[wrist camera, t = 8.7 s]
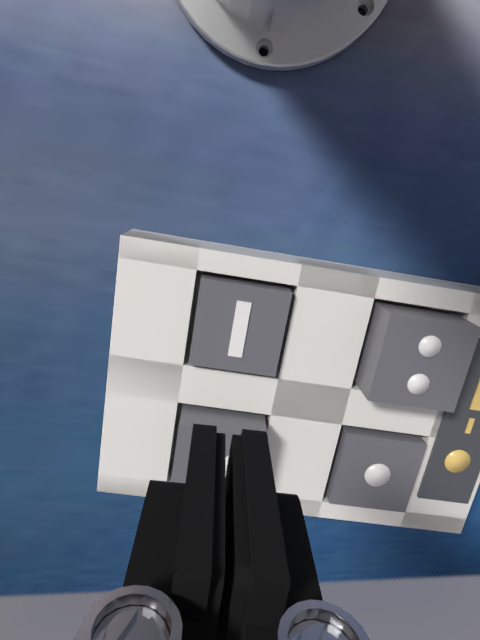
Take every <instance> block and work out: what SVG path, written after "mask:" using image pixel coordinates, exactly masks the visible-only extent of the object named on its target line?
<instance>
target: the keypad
mask: <svg viewBox="0 0 480 640" xmlns="http://www.w3.org/2000/svg"><path fill="white" fill-rule="evenodd" d="M203 271H207V272H213V273H219V274H225V275H232V276H238V277H244V278H251V279H257V280H263V281H269V282H276V283H282V284H287V285H288V286H289V288H290V289H291V291H292V292H293V293H292V298H291V303H290V308H289V313H288V318H287V323H286V327H285V332H284V337H283V342H282V347H281V352H280V357H279V361H278V366H277V371H276V376H275V377H272V376H265V375H258V374H251V373H244V372H237V371H230V370H223V369H216V368H209V367H202V366H195V365H188V363H189V356H190V349H191V342H192V335H193V328H194V322H195V315H196V308H197V301H198V294H199V287H200V280H201V275H202V272H203ZM374 300H376V301H383V302H389V303H395V304H402V305H408V306H414V307H420V308H427V309H433V310H439V311H446V312H452V313H455V314H457V315H459V316H461V317H463V318H464V319H466V320H468V321H470V322H472V323H474V324H475V325H477V326H479V327H480V286H476V285H470V284H464V283H458V282H452V281H446V280H440V279H434V278H428V277H422V276H416V275H410V274H404V273H398V272H391V271H385V270H379V269H373V268H367V267H361V266H355V265H349V264H343V263H337V262H331V261H325V260H319V259H313V258H307V257H300V256H294V255H288V254H282V253H276V252H270V251H264V250H258V249H252V248H246V247H240V246H234V245H228V244H222V243H216V242H209V241H203V240H197V239H191V238H185V237H179V236H173V235H167V234H161V233H155V232H149V231H143V230H137V229H132V230H130V231H128V232H126V233H123V234H121V235H120V245H119V256H118V266H117V277H116V288H115V299H114V310H113V321H112V332H111V343H110V353H109V364H108V375H107V386H106V397H105V408H104V419H103V430H102V440H101V451H100V462H99V473H98V484H97V491H101V492H110V493H118V494H127V495H135V496H144V497H146V493H147V489H148V485H149V482H150V480H157V481H167V482H171V476H172V469H173V462H174V455H175V448H176V441H177V434H178V428H179V422H180V416H181V411H182V406H183V403H185V404H193V405H200V406H207V407H215V408H222V409H229V410H237V411H244V412H252V413H259V414H264V416H265V422H266V427H267V433H268V443H269V450H270V456H271V462H272V468H273V475H274V481H275V487H276V492H277V493H287V494H297V496H298V497H299V500H300V503H301V507H302V512H303V515H305V516H313V517H322V518H330V519H339V520H347V521H356V522H364V523H373V524H381V525H390V526H398V527H407V528H415V529H424V530H432V531H441V532H449V533H458V534H461V531H462V529H463V526H464V523H465V521H466V518H467V515H468V513H469V510H470V507H471V504H472V502H473V499H474V496H475V494H476V491H477V488H478V486H479V483H480V336H479V339H478V342H477V345H476V348H475V351H474V354H473V357H472V360H471V363H470V366H469V369H468V372H467V375H466V378H465V381H464V384H463V387H462V390H461V393H460V396H459V399H458V402H457V405H456V408H455V411H454V413H453V412H445V411H438V410H431V409H424V408H417V407H410V406H403V405H396V404H388V403H381V402H374V401H367V399H366V398H365V396H364V395H363V393H362V392H361V390H360V389H359V387H358V386H357V384H356V383H355V381H354V380H353V379H354V376H355V372H356V368H357V364H358V360H359V356H360V352H361V349H362V345H363V341H364V337H365V333H366V329H367V325H368V322H369V318H370V314H371V310H372V306H373V302H374ZM342 425H348V426H355V427H363V428H370V429H377V430H385V431H392V432H400V433H407V434H414V435H420V436H421V438H422V439H423V440H424V441H425V443H426V444H427V446H426V449H425V452H424V455H423V459H422V462H421V465H420V468H419V471H418V474H417V477H416V480H415V483H414V486H413V489H412V493H411V496H410V499H409V502H408V505H407V508H406V511H405V513H404V512H396V511H387V510H379V509H371V508H362V507H354V506H346V505H337V504H329V502H328V499H327V496H326V493H325V487H326V484H327V480H328V476H329V472H330V468H331V464H332V460H333V457H334V453H335V449H336V445H337V441H338V437H339V433H340V430H341V426H342Z"/></svg>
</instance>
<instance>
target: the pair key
mask: <svg viewBox="0 0 480 640" xmlns="http://www.w3.org/2000/svg"><path fill="white" fill-rule="evenodd" d="M479 336H480V327H479V326H477V325H475V324H474V323H472V322H470V321H468V320H466V319H464V318H463V317H461V316H459V315H457V314H455V313H452V312H446V311H439V310H433V309H427V308H420V307H414V306H408V305H402V304H395V303H389V302H383V301H376V300H374V302H373V306H372V310H371V314H370V318H369V322H368V325H367V329H366V333H365V337H364V341H363V345H362V349H361V352H360V356H359V360H358V364H357V368H356V372H355V376H354V379H353V380H354V381H355V383H356V384H357V386H358V387H359V389H360V390H361V392H362V393H363V395H364V396H365V398H366V399H367V401H374V402H381V403H388V404H396V405H403V406H410V407H417V408H424V409H431V410H438V411H445V412H453V413H454V411H455V408H456V405H457V402H458V399H459V396H460V393H461V390H462V387H463V384H464V381H465V378H466V375H467V372H468V369H469V366H470V363H471V360H472V357H473V354H474V351H475V348H476V345H477V342H478V339H479Z"/></svg>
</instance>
